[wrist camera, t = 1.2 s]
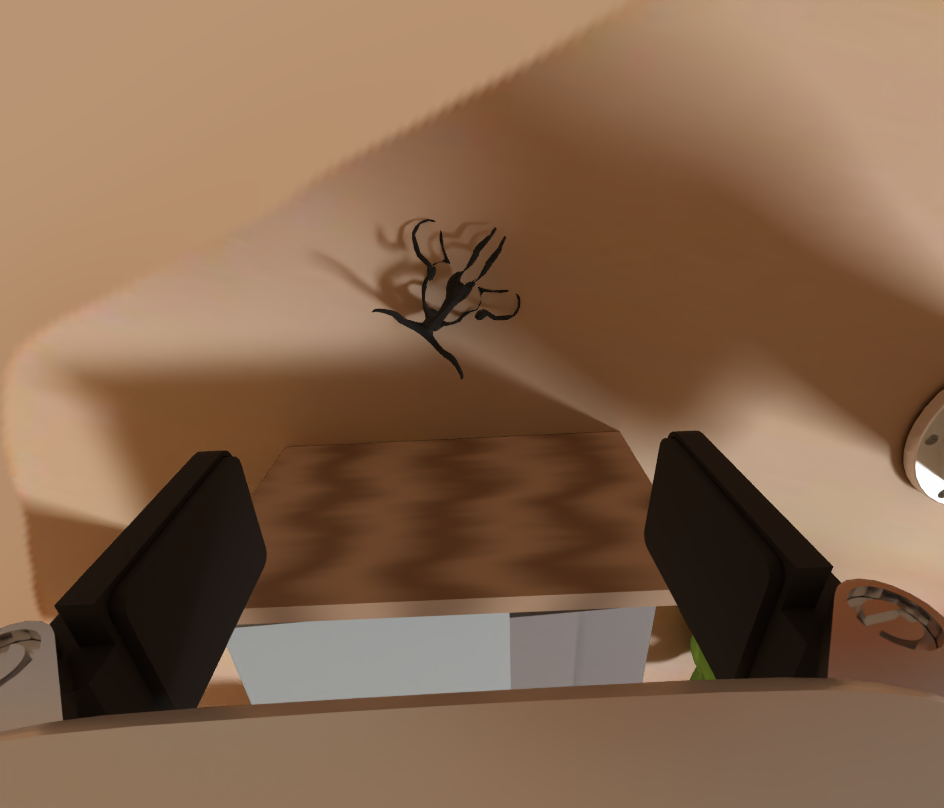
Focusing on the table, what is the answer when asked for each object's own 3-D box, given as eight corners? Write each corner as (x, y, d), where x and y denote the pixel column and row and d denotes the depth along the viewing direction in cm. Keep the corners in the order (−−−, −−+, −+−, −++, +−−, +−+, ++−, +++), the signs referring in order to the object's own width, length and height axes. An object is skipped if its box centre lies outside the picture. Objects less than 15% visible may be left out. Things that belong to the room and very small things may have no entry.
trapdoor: (622, 523, 27) (659, 590, 23) (604, 673, 33) (629, 750, 29) (256, 553, 26) (219, 629, 22) (306, 701, 33) (285, 784, 28)
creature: (444, 188, 27) (362, 297, 28) (455, 169, 22) (355, 303, 23) (540, 276, 29) (462, 373, 30) (571, 277, 24) (476, 395, 25)
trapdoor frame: (619, 431, 33) (715, 587, 20) (600, 611, 41) (660, 803, 28) (285, 447, 33) (173, 611, 20) (331, 623, 41) (272, 819, 28)
